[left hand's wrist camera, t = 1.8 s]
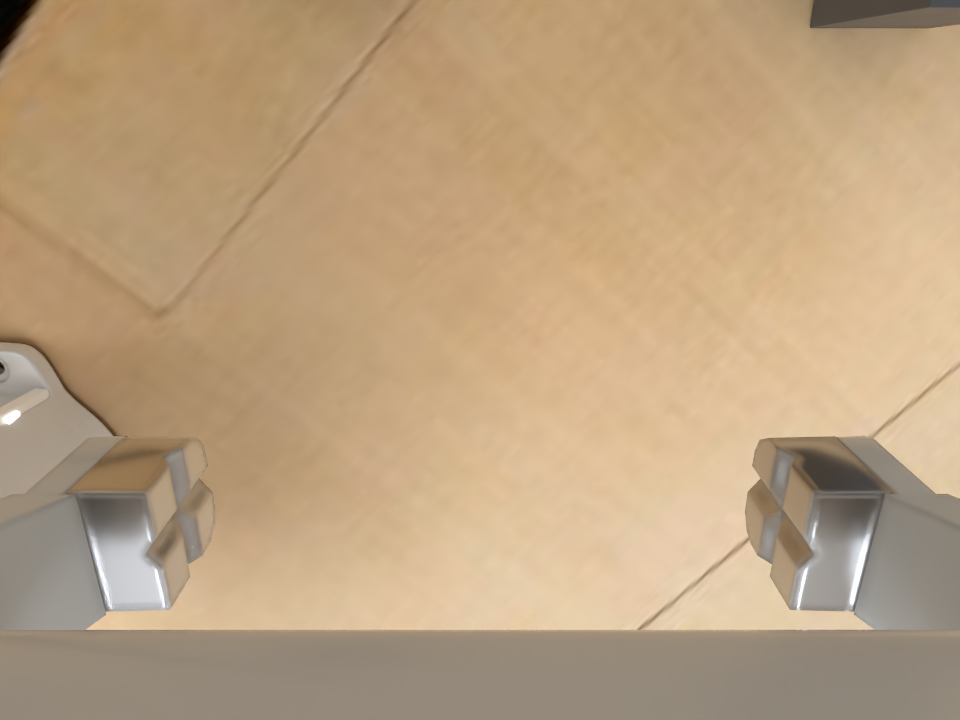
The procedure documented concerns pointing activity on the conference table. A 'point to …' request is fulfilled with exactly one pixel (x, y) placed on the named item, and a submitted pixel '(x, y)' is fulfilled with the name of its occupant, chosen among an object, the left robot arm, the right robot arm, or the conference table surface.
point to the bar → (885, 13)
